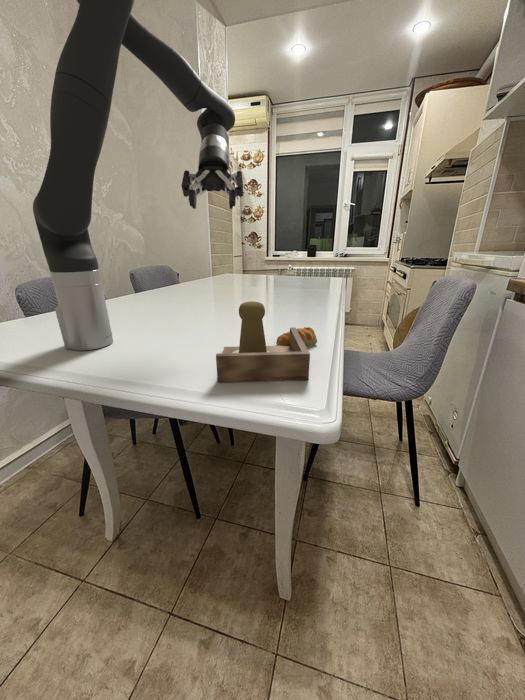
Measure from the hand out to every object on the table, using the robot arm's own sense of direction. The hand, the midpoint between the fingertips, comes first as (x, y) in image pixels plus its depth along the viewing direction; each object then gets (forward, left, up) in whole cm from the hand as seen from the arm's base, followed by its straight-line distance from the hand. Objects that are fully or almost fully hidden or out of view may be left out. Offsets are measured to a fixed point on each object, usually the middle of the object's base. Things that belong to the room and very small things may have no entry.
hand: (212, 205), depth 66 cm
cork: (+8, -18, -30) cm, 36 cm away
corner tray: (+10, -21, -31) cm, 38 cm away
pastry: (+19, -9, -31) cm, 38 cm away
